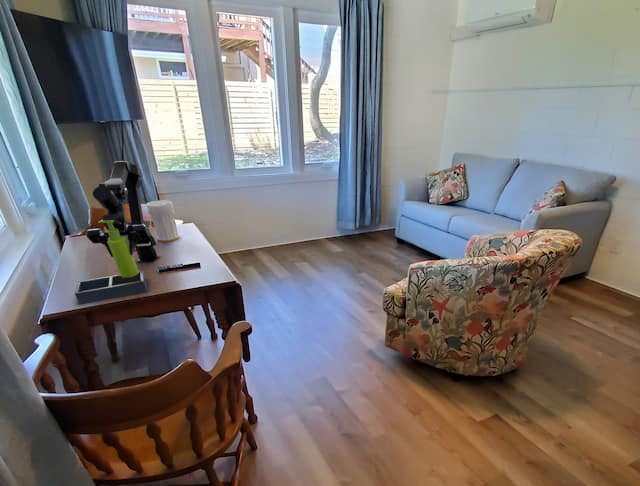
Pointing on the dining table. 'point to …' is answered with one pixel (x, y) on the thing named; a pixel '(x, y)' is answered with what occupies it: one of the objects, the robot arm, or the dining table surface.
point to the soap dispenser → (120, 251)
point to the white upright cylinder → (163, 220)
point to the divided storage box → (109, 287)
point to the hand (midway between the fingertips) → (121, 255)
